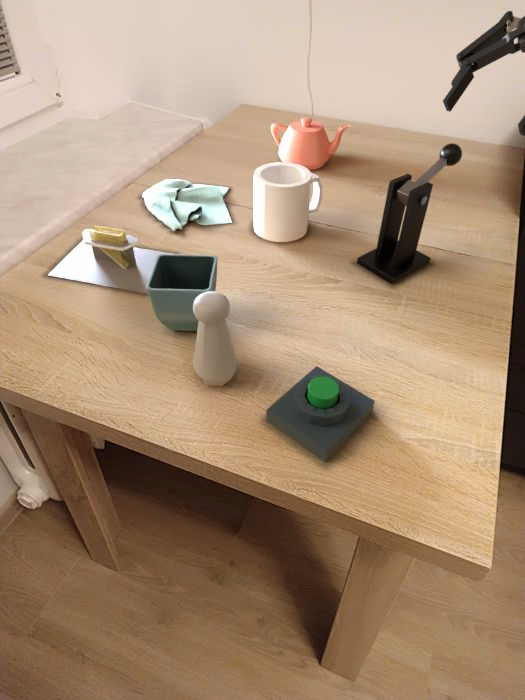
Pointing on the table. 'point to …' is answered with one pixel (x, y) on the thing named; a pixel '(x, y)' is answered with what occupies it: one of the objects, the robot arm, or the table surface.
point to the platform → (108, 260)
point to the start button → (323, 392)
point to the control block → (319, 416)
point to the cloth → (187, 203)
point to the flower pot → (180, 288)
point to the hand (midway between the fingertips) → (481, 118)
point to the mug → (284, 200)
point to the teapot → (306, 143)
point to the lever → (431, 170)
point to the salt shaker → (213, 340)
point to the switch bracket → (394, 255)
